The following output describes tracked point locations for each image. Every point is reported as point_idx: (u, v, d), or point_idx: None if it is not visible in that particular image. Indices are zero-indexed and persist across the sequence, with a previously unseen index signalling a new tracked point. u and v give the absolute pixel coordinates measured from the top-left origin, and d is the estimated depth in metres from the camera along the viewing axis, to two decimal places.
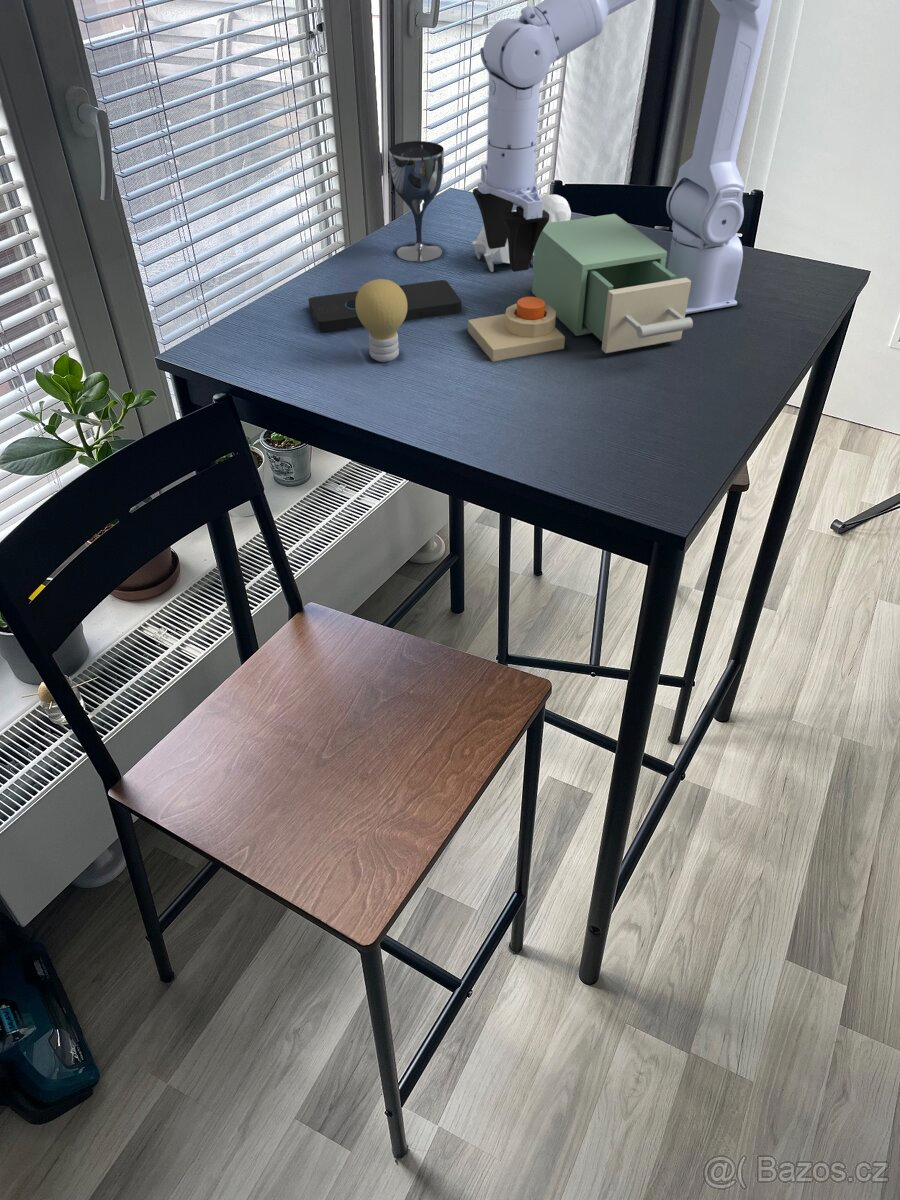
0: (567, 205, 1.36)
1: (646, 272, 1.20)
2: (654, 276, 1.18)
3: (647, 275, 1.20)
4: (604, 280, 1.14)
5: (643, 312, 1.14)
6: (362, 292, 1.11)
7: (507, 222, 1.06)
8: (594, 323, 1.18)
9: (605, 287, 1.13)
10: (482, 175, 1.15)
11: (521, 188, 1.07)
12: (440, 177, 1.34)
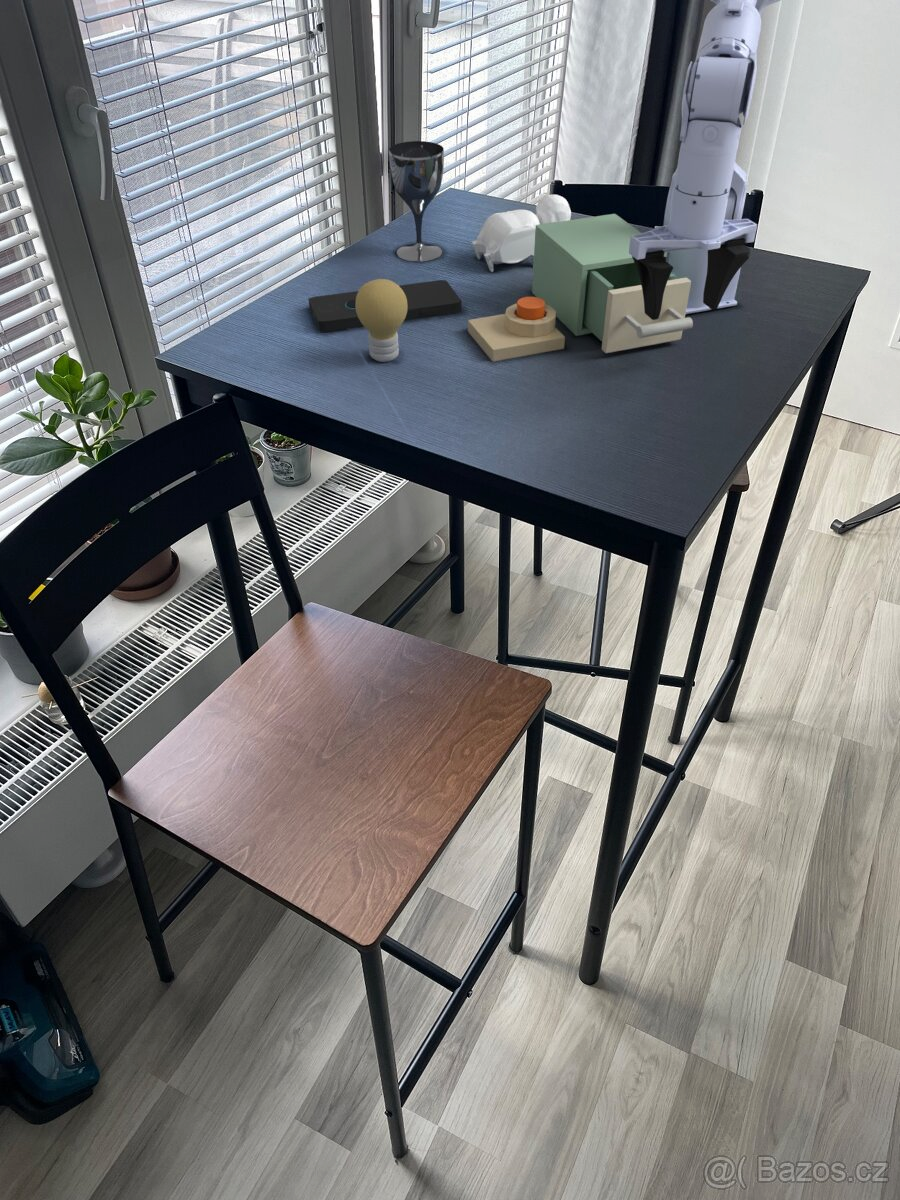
0: (567, 205, 1.36)
1: None
2: None
3: None
4: (604, 280, 1.14)
5: (643, 312, 1.14)
6: (362, 292, 1.11)
7: (748, 255, 1.00)
8: (594, 323, 1.18)
9: (605, 287, 1.13)
10: (641, 251, 0.98)
11: None
12: (440, 177, 1.34)
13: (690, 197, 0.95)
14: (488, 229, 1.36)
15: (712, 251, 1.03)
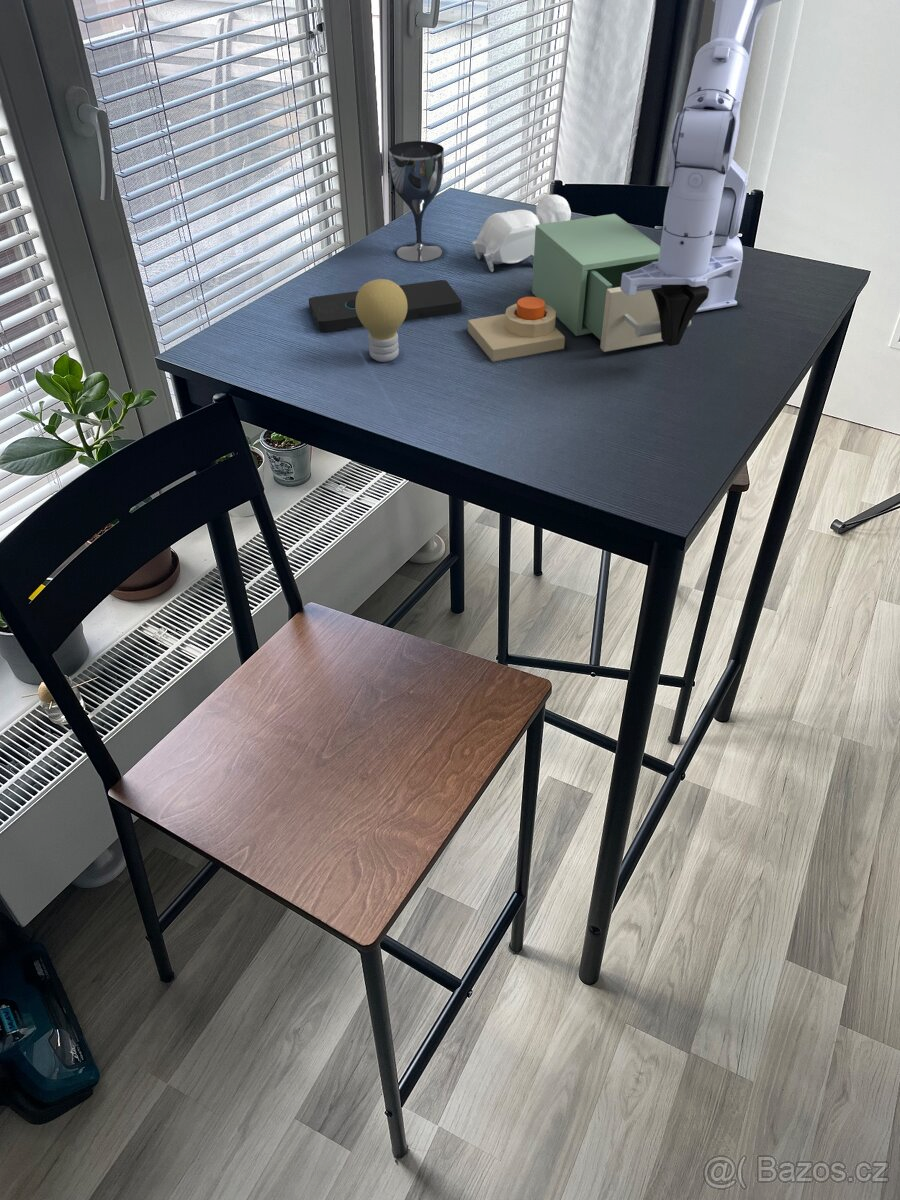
0: (567, 205, 1.36)
1: None
2: None
3: None
4: (603, 278, 1.15)
5: (642, 311, 1.14)
6: (362, 292, 1.11)
7: (707, 294, 1.05)
8: (593, 322, 1.19)
9: (603, 286, 1.14)
10: (632, 288, 1.03)
11: None
12: (440, 177, 1.34)
13: (678, 238, 1.00)
14: (488, 229, 1.36)
15: None
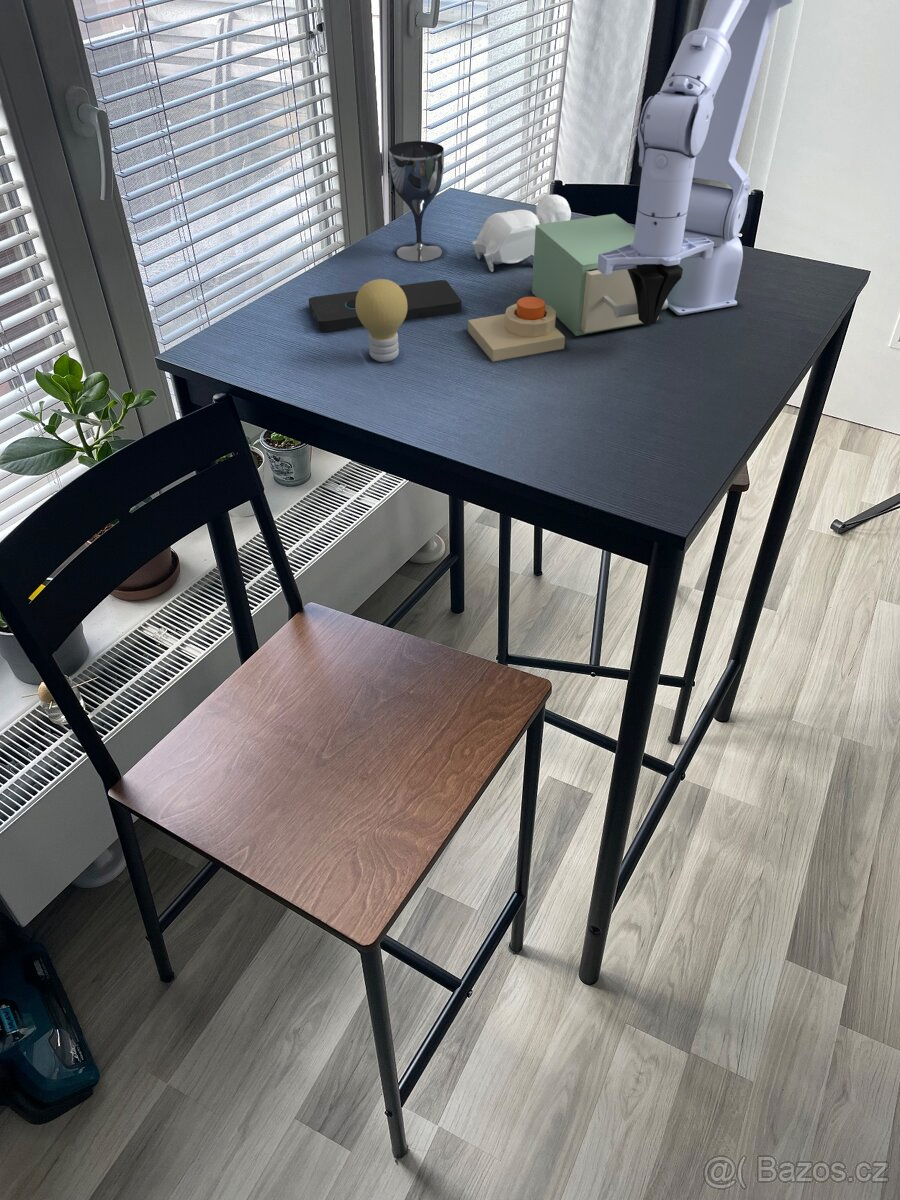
0: (567, 205, 1.36)
1: None
2: None
3: None
4: None
5: (621, 293, 1.18)
6: (362, 292, 1.11)
7: (681, 274, 1.09)
8: None
9: None
10: (609, 268, 1.07)
11: None
12: (440, 177, 1.34)
13: (651, 219, 1.04)
14: (488, 229, 1.36)
15: None
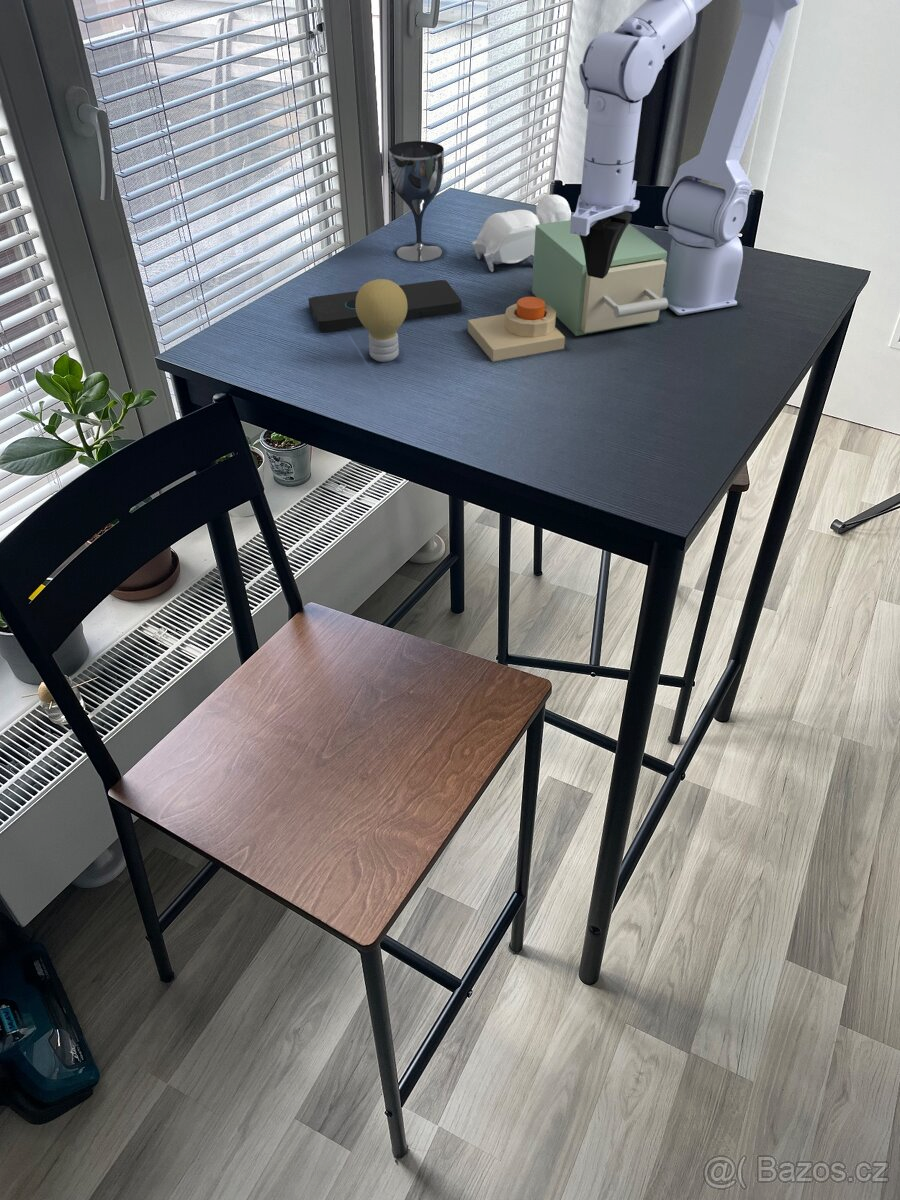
0: (567, 205, 1.36)
1: None
2: None
3: None
4: None
5: (621, 293, 1.18)
6: (362, 292, 1.11)
7: None
8: None
9: None
10: (588, 227, 1.02)
11: None
12: (440, 177, 1.34)
13: (615, 167, 1.01)
14: (488, 229, 1.36)
15: None
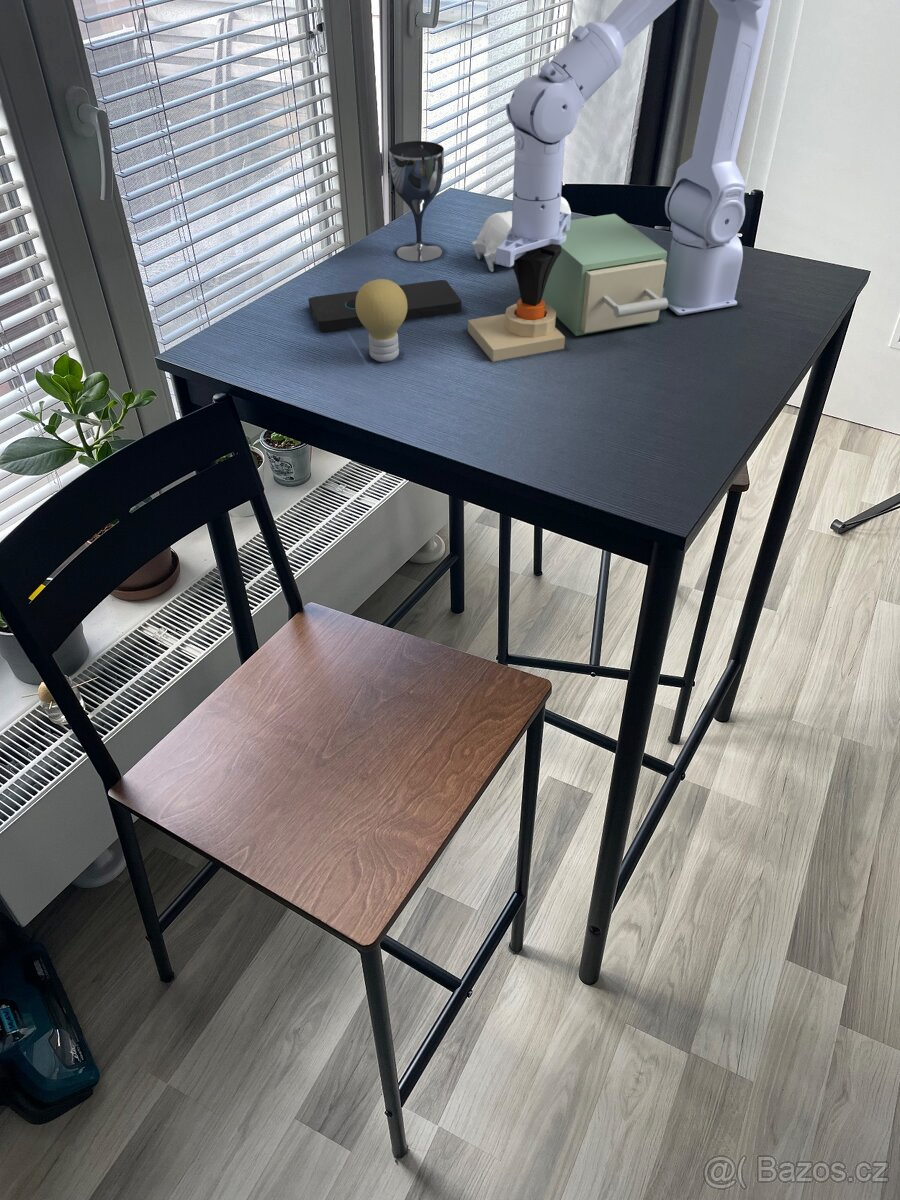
0: (567, 205, 1.36)
1: None
2: None
3: None
4: None
5: (621, 293, 1.18)
6: (362, 292, 1.11)
7: None
8: None
9: None
10: (512, 259, 1.08)
11: None
12: (440, 177, 1.34)
13: (539, 203, 1.07)
14: (488, 229, 1.36)
15: None
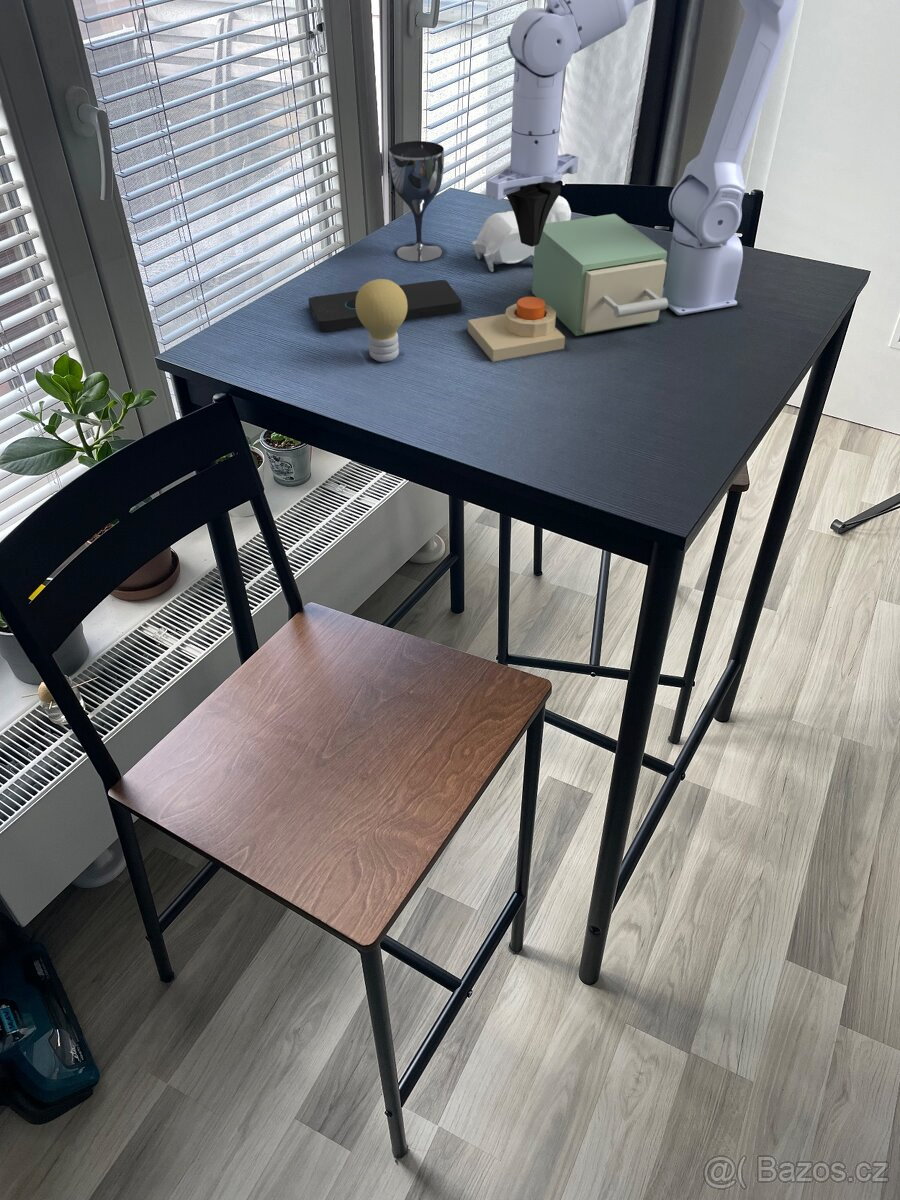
0: (567, 205, 1.36)
1: None
2: None
3: None
4: None
5: (621, 293, 1.18)
6: (362, 292, 1.11)
7: None
8: None
9: None
10: (500, 192, 1.09)
11: None
12: (440, 177, 1.34)
13: (532, 138, 1.07)
14: (488, 229, 1.36)
15: None
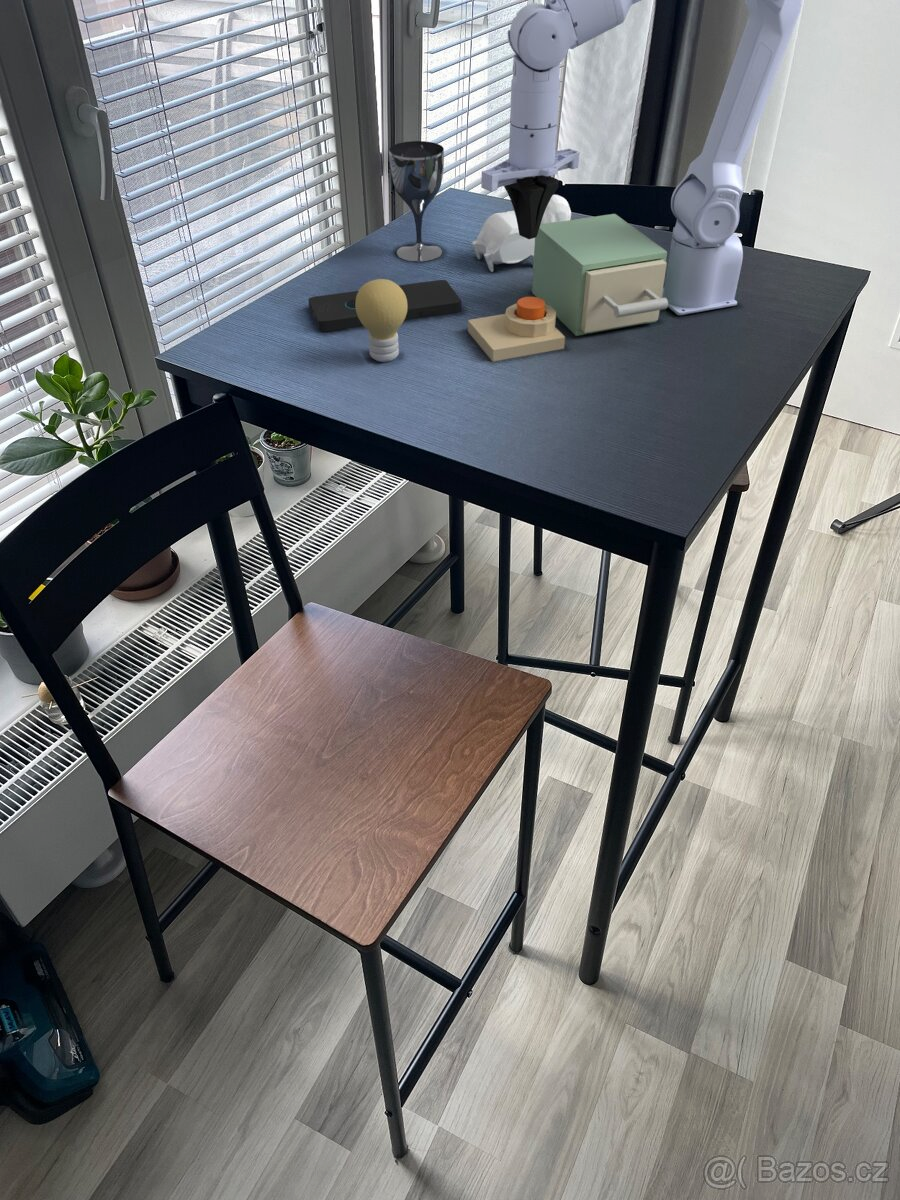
0: (567, 205, 1.36)
1: None
2: None
3: None
4: None
5: (621, 293, 1.18)
6: (362, 292, 1.11)
7: (557, 184, 1.15)
8: None
9: None
10: (494, 184, 1.11)
11: None
12: (440, 177, 1.34)
13: (528, 131, 1.09)
14: (488, 229, 1.36)
15: None
